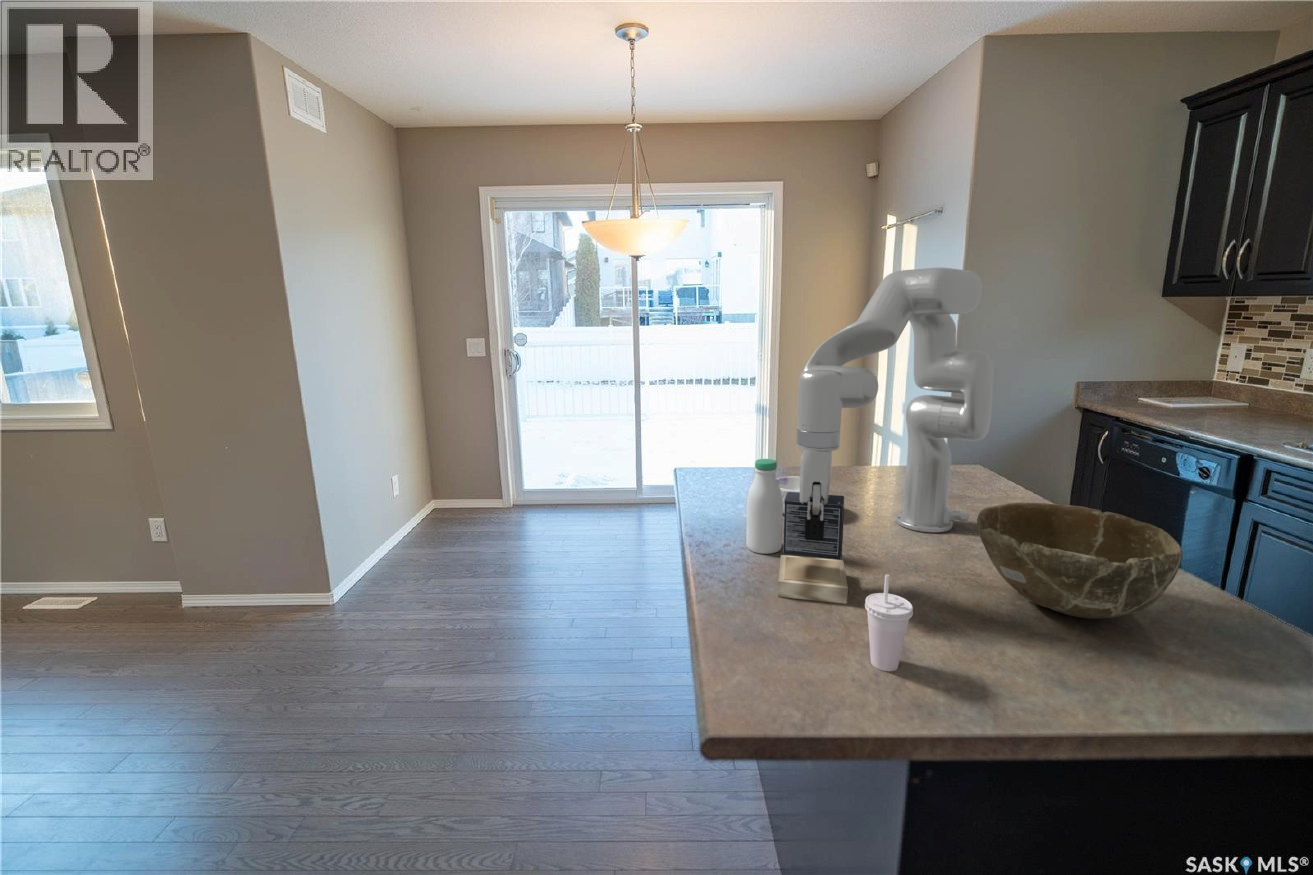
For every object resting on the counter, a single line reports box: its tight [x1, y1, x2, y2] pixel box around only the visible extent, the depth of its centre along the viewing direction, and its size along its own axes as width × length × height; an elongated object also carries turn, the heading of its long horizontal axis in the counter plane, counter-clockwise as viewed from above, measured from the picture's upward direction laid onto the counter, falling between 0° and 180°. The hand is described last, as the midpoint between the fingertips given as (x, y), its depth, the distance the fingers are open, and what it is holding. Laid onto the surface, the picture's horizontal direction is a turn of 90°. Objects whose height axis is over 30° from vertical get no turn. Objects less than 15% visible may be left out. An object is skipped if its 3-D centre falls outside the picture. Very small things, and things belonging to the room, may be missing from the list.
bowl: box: [976, 502, 1184, 620], centre depth 94 cm, size 28×27×15 cm
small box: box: [782, 492, 845, 560], centre depth 103 cm, size 11×6×10 cm, turn 71°
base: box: [777, 554, 849, 605], centre depth 105 cm, size 12×12×3 cm
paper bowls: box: [776, 475, 821, 515], centre depth 145 cm, size 15×15×8 cm
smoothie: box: [864, 573, 914, 672], centre depth 80 cm, size 6×6×14 cm
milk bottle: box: [745, 458, 784, 555], centre depth 121 cm, size 8×8×20 cm
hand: (813, 531), depth 103 cm, fingers closed on small box, 6 cm apart
